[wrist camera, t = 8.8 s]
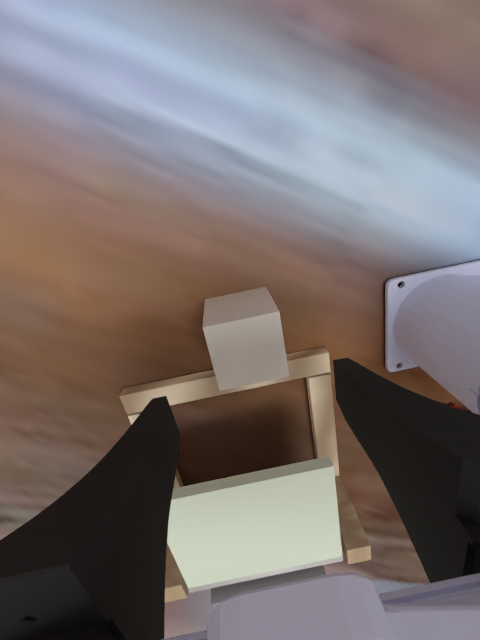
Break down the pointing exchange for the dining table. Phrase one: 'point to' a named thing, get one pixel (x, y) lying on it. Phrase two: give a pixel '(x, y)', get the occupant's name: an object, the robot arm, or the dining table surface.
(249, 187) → the dining table surface
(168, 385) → the frame
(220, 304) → the white block
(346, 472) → the dining table surface
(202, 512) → the trapdoor
